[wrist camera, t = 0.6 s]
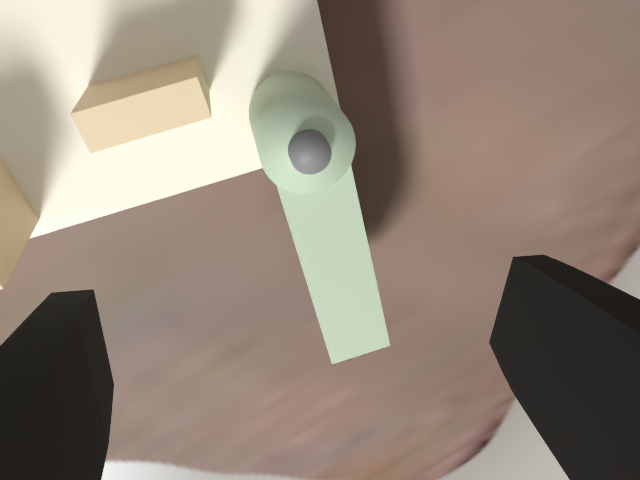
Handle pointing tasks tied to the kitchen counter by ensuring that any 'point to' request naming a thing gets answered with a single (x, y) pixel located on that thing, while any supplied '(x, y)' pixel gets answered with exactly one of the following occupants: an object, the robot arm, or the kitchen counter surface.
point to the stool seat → (134, 101)
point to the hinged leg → (321, 207)
